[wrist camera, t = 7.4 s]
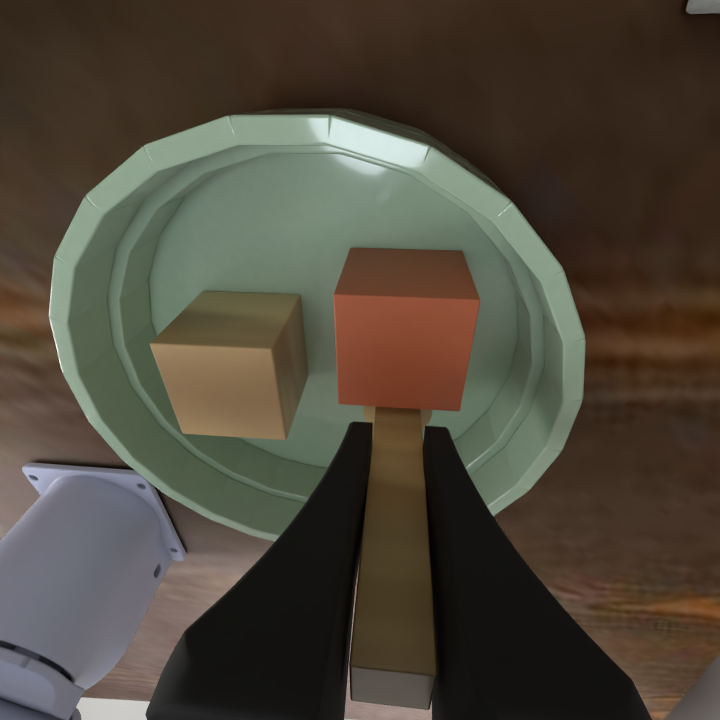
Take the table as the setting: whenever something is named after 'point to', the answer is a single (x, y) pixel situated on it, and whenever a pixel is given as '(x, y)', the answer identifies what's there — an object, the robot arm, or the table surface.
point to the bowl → (305, 299)
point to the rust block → (404, 328)
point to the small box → (703, 6)
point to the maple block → (235, 364)
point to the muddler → (395, 570)
